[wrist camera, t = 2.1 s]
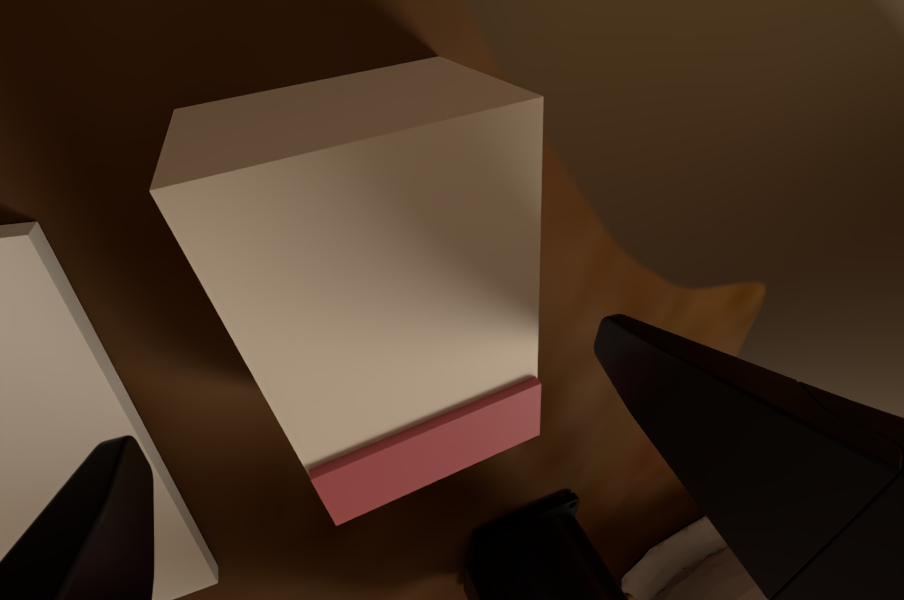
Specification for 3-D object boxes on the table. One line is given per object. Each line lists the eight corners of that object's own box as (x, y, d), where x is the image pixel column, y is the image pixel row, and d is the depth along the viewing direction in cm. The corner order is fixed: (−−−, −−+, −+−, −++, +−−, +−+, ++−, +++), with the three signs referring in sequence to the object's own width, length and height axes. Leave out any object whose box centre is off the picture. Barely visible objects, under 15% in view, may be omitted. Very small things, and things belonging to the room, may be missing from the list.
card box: (175, 107, 9) (146, 198, 5) (435, 55, 10) (552, 100, 7) (306, 390, 14) (336, 531, 11) (466, 332, 15) (540, 439, 12)
